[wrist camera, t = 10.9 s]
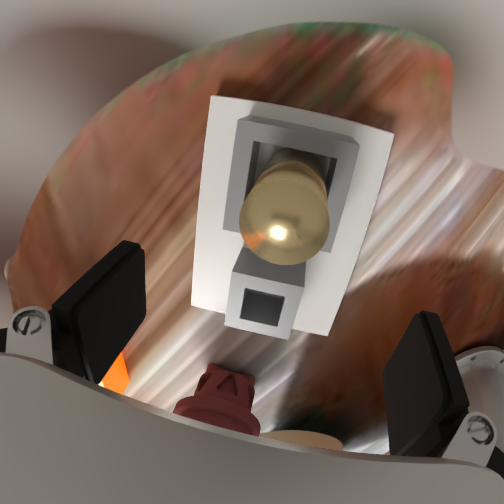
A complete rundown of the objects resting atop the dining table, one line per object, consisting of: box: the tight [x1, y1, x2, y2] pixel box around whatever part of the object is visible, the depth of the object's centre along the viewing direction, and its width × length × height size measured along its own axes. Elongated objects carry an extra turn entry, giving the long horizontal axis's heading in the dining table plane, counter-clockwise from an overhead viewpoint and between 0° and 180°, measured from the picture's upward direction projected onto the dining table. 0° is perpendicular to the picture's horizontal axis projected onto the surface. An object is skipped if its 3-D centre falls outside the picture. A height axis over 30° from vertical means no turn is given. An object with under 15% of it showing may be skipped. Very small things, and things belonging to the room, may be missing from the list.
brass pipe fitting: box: [239, 147, 330, 265], centre depth 20 cm, size 4×4×10 cm
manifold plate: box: [191, 95, 394, 340], centre depth 26 cm, size 14×20×6 cm
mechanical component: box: [173, 364, 260, 437], centre depth 34 cm, size 12×10×10 cm
